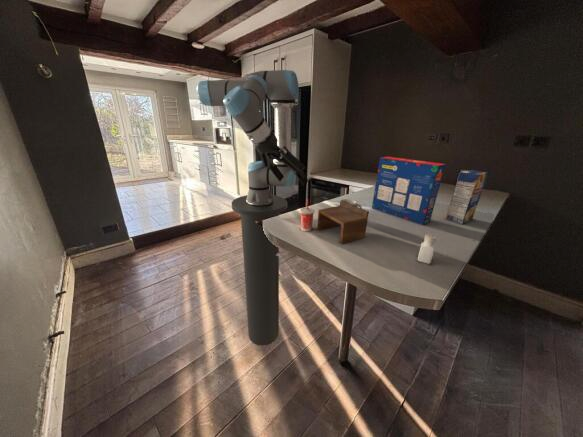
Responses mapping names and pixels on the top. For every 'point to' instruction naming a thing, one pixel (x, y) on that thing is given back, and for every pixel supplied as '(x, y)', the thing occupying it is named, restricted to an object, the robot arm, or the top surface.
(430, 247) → the pepper shaker
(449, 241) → the top surface
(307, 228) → the beverage cup
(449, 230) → the top surface
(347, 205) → the shelf
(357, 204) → the cup
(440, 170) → the blue flat box
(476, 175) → the juice carton
